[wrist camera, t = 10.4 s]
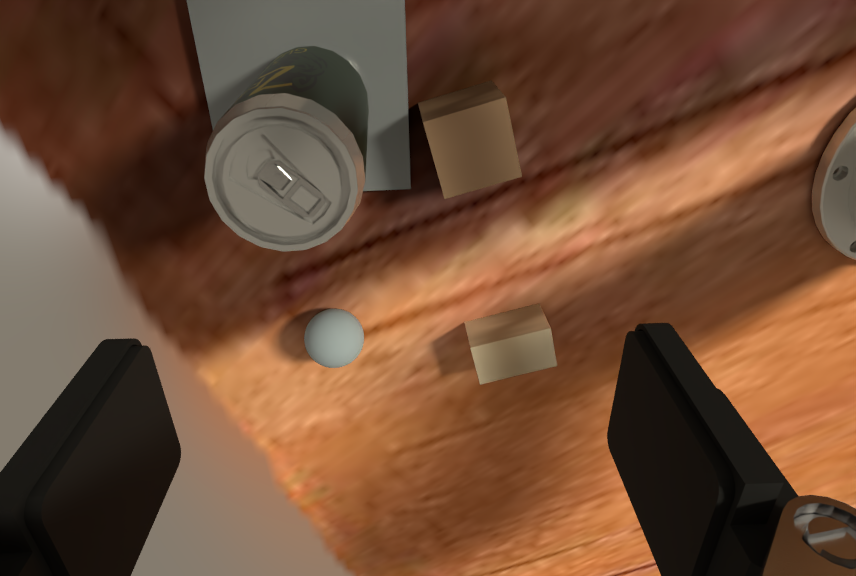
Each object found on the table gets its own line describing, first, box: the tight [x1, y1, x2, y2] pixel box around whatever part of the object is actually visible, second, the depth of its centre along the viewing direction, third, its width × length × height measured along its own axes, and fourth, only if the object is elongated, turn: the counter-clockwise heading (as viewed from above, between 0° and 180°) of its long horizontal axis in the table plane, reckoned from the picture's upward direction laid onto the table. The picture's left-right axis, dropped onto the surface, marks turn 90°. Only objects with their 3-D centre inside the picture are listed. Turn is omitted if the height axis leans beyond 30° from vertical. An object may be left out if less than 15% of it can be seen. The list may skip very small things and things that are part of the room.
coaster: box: [187, 0, 411, 191], centre depth 30 cm, size 10×10×1 cm
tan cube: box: [418, 81, 522, 199], centre depth 30 cm, size 4×4×4 cm
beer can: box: [204, 46, 369, 251], centre depth 24 cm, size 5×5×12 cm
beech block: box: [464, 304, 557, 385], centre depth 37 cm, size 5×3×3 cm, turn 104°
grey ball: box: [304, 309, 364, 368], centre depth 36 cm, size 4×4×4 cm
